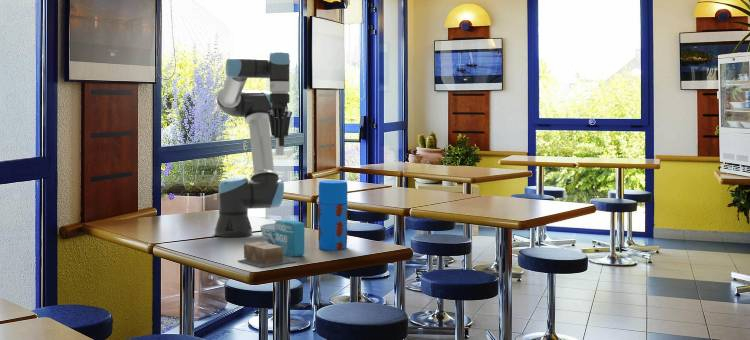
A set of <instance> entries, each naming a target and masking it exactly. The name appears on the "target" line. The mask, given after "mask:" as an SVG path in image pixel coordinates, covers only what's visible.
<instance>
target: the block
mask: <svg viewBox="0 0 750 340" xmlns="http://www.w3.org/2000/svg"><path fill="white" fill-rule="evenodd" d="M283 258H284V255H283V247H281V246H277V245H273V244H270V243H269V242H262V241H256V242H251V243H249V242H247V243H243V259H248V260H252V261H256V262H259V263H263V264H270V263H276V262H283Z"/></svg>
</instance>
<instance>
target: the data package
mask: <svg viewBox="0 0 750 340" xmlns="http://www.w3.org/2000/svg"><path fill="white" fill-rule="evenodd" d="M274 223H275V245H277V246H281V247H283V256H286V257H287V256H288V257H290V258H294V257H295V258H296V257H303V256H304V255H305V249H306V248H305V240H306V239H305V232H306V231H305V229H306V228H305V224H304V223H303V222H301V221H298V220H297V221H296V220H291V219H281V220H280V219H278V220H276V221H275V222H274Z"/></svg>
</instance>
